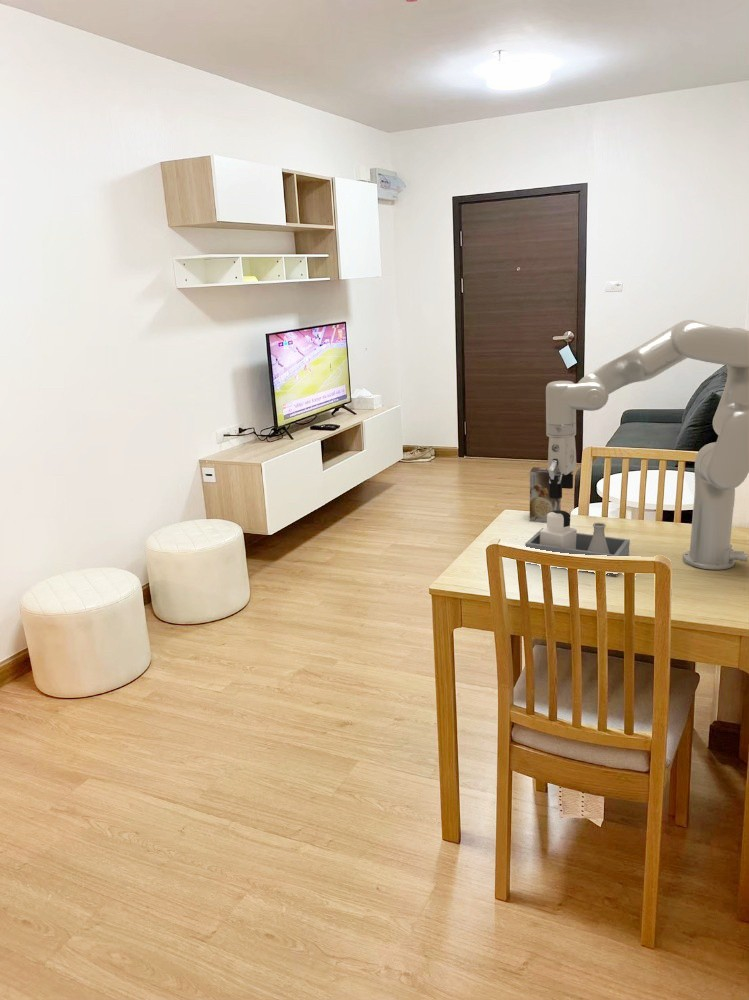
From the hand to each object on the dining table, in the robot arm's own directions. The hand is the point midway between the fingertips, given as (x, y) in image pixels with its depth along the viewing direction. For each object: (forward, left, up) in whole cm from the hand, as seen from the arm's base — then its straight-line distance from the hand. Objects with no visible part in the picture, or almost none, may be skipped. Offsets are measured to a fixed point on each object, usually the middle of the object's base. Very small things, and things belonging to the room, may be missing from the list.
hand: (561, 493), depth 206 cm
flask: (-10, 0, -18) cm, 20 cm away
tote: (-5, 0, -18) cm, 19 cm away
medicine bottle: (0, 0, -18) cm, 18 cm away
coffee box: (+14, -31, -19) cm, 39 cm away
